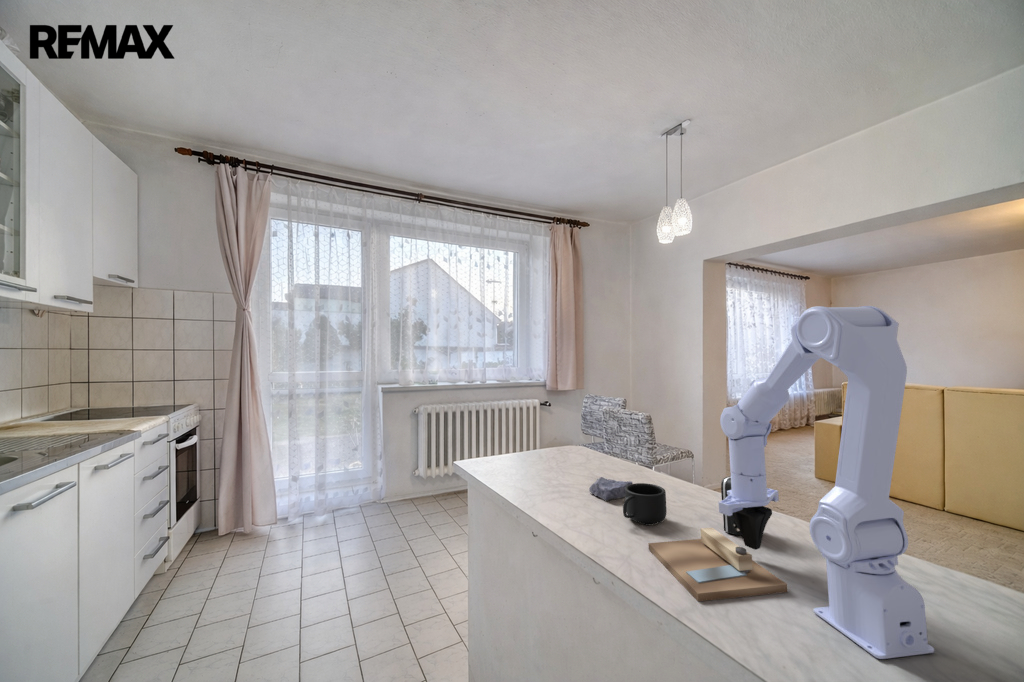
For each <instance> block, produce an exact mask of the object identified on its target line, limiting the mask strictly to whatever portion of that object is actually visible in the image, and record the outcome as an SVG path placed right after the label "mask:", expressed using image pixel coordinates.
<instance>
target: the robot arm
mask: <svg viewBox="0 0 1024 682" xmlns="http://www.w3.org/2000/svg"><path fill="white" fill-rule="evenodd" d="M899 326H900V325H899V322H898V321H897V320H895V319H894V318H893V317H892V316H890V315H889V314H888V313H887V312H886V311H885V310H883V309H881V308H879V307H877V306H872V305H862V306H843V307H840V306H839V307H838V306H835V307H834V306H833V307H832V306H830V307H828V306H827V307H826V306H822V305H821V306H820V305H819V306H818V305H817V306H812V307H808V308H807V309H806V310H803V312H802V314H800V316H799V318H798V320H797V321H796V322H795V323H794V324H793V325H792V326H791V328H790V335H791V339H790V341H789V343H788V344H787V345H786V348H785V349H784V351H783V352H782V353H781V355H780V357H779V358H778V360H777V361H776V363H775V364H774V366H773V367H772V369H771V371H770V372H769V374H768V375H767V376H766V377H760V378H757V379H756V380H755V379H753V380H752V381H751V382H750V384H749V386H750V387H749V388H748V390H746V392H745V393H744V395H743V396H742V397H741V398H740V399H738V402H737V404H735V405H732V406H728V407H725V408H723V410H722V412H721V414H720V418H719V423H720V428H721V430H722V432H723V433H724V435H725V436H726V437H728V450H729V468H730V469H729V471H730V476H731V490H728V491H727V495H728V496H727V497H726V498H725V499H724V500H722V499H721V500H720V501H718V513H720V514H722V515H723V514H725V515H727V516H731V515H733V517H734V518H735V520H736V522H737V524H738V526H739V529H740V531H741V534H742V535H741V537H742V541H743V544H744V546H745V547H748V548H750V549H753V550H754V551H755V550H759V549H760V548H761V545H762V541H763V536H764V532H765V529H766V526H767V524H768V521H769V520H770V518H771V517H772V515H773V510H772V508H770V507H767V506H768V505H769V504H770V503H771V502H775V503H776V502H780V498H779V490H776V489H773V488H770V487H769V488H768V486H767V485H768V484H767V470H766V468H767V467H766V455H765V451H766V450H765V448H767V445H768V436H769V435H770V433H771V431H772V423H771V421H772V420H773V419H774V417H776V415H777V414H778V413H779V412H780V411H781V410H783V409H782V408H783V407H784V406H785V405H787V403H788V402H789V401H790V392H789V389H790V388H792V386H793V385H794V384H795V383H796V382H797V381H798V380H799V379H800V378H801V377H802V376H803V375H804V374H805V373H806V372H807V371H808V370H809V369H810V368H812V367H813V365H814V364H816V363H817V362H818V361H819V360H820V359H823V360H825V361H827V362H828V363H830V364H831V365H834V366H835V367H837V368H838V369H839V370H840V371H841V372H842V373H843V374H844V375H845V376H846V378H847V385H846V386H847V387H846V393H845V402H844V411H843V418H842V424H841V425H842V426H841V435H840V443H839V450H838V452H839V453H838V457H837V458H838V459H837V466H836V475H835V481H834V482H835V483H834V487H833V488H832V489H830V490H829V491H828V492H827V493H826V494H825V495H823V497H822V498H821V499H819V502H818V507H817V511H816V513H815V514H813V516H812V517H811V519H810V521H809V534H810V537H811V540H812V542H813V544H814V545H815V548H817V550H818V551H819V553H820V554H821V557H823V558H824V559H825V561H826V562H825V563H826V564H825V565H826V578H827V593H828V606H823V607H821V606H819V607H814V608H813V613H815V614H816V615H817V616H818V617H820V618H821V619H822V620H823V621H825V622H827V623H828V624H829V625H830V626H832V627H833V628H835V629H836V630H838V631H839V632H840V633H841V634H843V635H844V636H845V637H847V638H849V640H851V641H853V642H854V643H856V645H857V646H858V645H859V646H860V647H861V649H863V650H865V651H866V652H868V653H869V654H870V655H872V656H873V657H874V658H877V659H878V660H879V659H880V660H886V659H892V658H893V659H894V658H900V657H909V656H917V655H925V654H933V653H935V647H933V646H932V645H930V644H929V642H928V630H927V616H926V606H925V600H924V598H923V595H922V594H921V592H920V591H919V589H917V588H915V586H913V585H911V584H910V583H908V581H906V580H905V579H903V577H902V576H901V575H900V574H899V573H898V571H897V570H896V566H898V565H899V559H898V556H902V555H903V554H904V553H905V552H906V551H907V550H908V548H909V537H908V534H907V531H906V529H905V525H904V515H905V512H904V510H903V508H901V507H900V506H899V505H898V504H896V503H895V502H894V501H892V500H891V499H890V493H891V486H892V481H893V480H892V478H893V473H894V472H893V471H894V465H895V458H896V451H897V446H898V445H897V444H898V437H899V430H900V423H901V422H900V421H901V415H902V409H903V408H902V407H903V402H904V395H905V388H906V380H907V375H908V370H907V369H908V366H907V364H906V361H905V358H904V355H903V353H902V350H901V347H900V344H899V342H898V332H899Z"/></svg>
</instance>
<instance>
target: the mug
mask: <svg viewBox="0 0 1024 682" xmlns="http://www.w3.org/2000/svg"><path fill="white" fill-rule="evenodd" d="M666 493H667V492H666V489H665V488H663V486H660V485H657V484H652V483H643V482H640V483H639V482H637V483H632V484H630V485H628V486H626V487H625V497H624V501H623V505H622V511H623V516H624V518H625V519H630V520H632V521H634V522H636V523H639V524H641V525H646V524H647V525H648V526H649V525H650V526H651V525H652V524H653V525H656V524H660V523H662V522H664V520H665V519H666V517H667V510H668V509H667V494H666Z"/></svg>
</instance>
